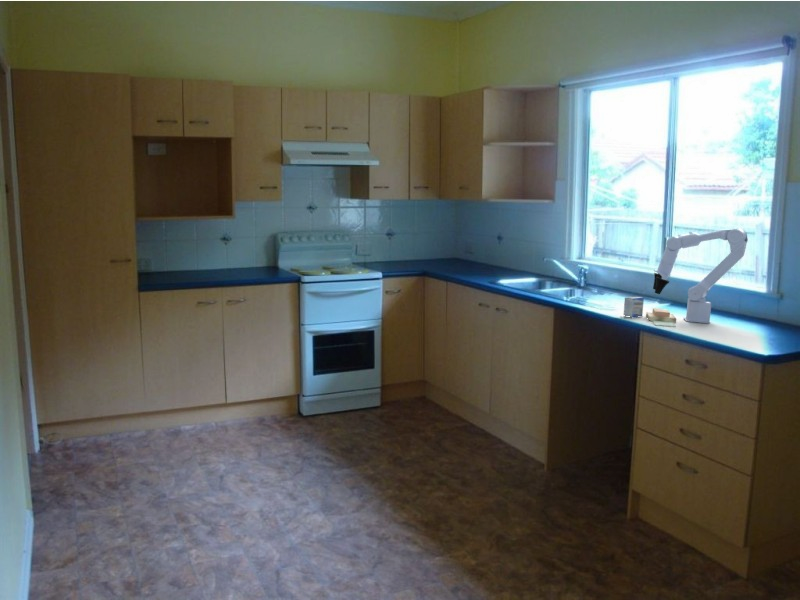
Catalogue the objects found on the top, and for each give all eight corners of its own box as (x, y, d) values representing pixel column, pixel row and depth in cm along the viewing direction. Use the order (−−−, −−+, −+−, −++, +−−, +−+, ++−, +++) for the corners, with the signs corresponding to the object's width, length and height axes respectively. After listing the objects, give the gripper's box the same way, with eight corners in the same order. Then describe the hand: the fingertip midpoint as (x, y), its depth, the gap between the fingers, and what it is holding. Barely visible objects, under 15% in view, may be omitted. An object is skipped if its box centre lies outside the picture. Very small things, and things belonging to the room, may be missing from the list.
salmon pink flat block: (666, 313, 321) (667, 309, 321) (669, 317, 313) (669, 312, 312) (652, 312, 322) (652, 308, 322) (654, 316, 314) (655, 311, 313)
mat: (672, 322, 310) (672, 322, 310) (675, 326, 301) (675, 326, 301) (652, 321, 312) (652, 320, 312) (655, 325, 303) (655, 324, 303)
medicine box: (631, 318, 319) (633, 298, 317) (622, 316, 322) (624, 297, 321) (642, 316, 323) (644, 297, 322) (634, 315, 327) (635, 296, 325)
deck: (672, 318, 321) (672, 314, 321) (675, 323, 310) (676, 318, 310) (646, 316, 323) (646, 312, 323) (648, 321, 313) (649, 316, 312)
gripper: (656, 257, 329) (645, 285, 333) (659, 263, 315) (648, 292, 319) (672, 261, 327) (661, 289, 331) (676, 268, 314) (665, 297, 318)
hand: (656, 291), depth 325 cm, fingers open, 7 cm apart
